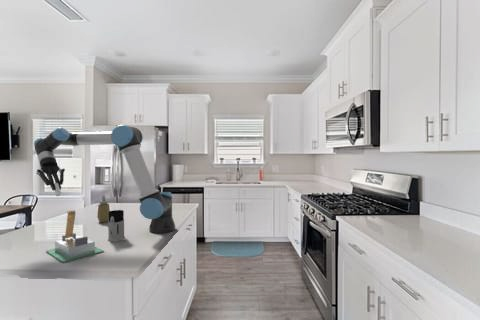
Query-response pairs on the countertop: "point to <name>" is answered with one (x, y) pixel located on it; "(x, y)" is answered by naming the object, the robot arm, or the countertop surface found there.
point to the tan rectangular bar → (70, 224)
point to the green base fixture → (73, 248)
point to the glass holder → (116, 225)
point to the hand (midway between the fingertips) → (58, 194)
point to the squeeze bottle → (103, 210)
